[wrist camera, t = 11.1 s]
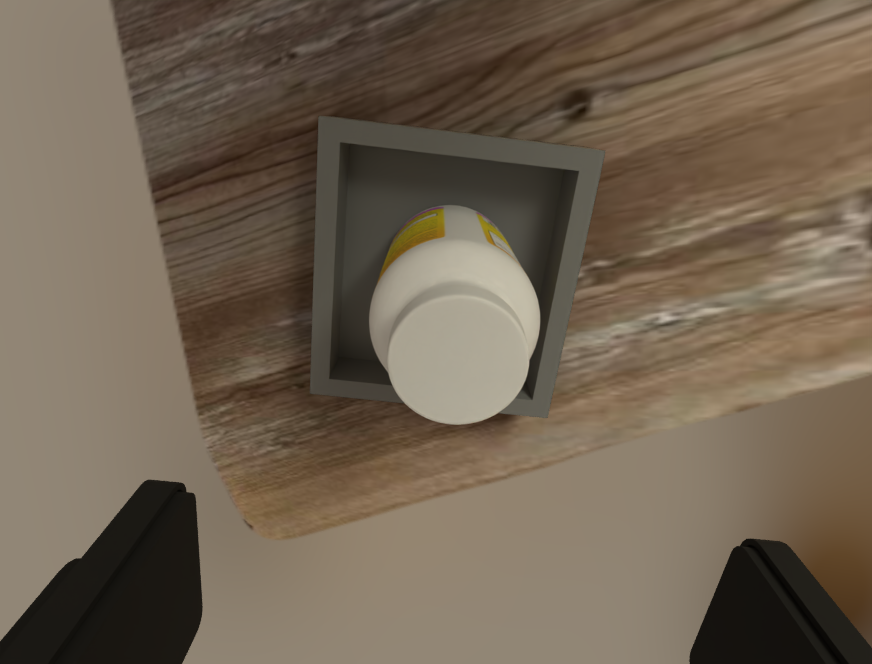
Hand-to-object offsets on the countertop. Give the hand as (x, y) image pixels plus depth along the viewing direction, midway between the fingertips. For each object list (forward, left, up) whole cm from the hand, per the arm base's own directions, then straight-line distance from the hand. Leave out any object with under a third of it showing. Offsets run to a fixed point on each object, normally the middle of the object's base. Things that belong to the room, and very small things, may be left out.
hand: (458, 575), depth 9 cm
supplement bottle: (0, 0, -22) cm, 22 cm away
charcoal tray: (0, 0, -22) cm, 22 cm away
